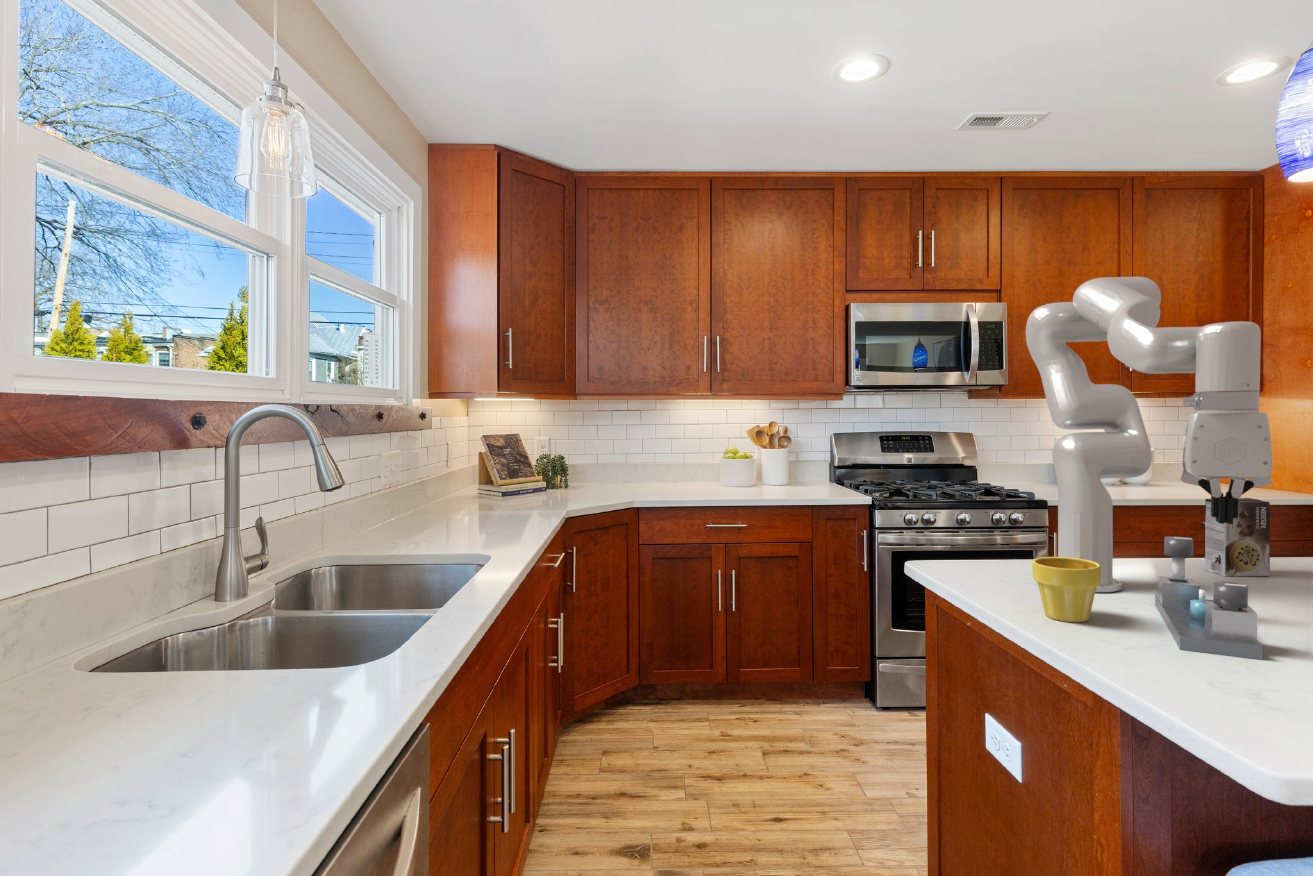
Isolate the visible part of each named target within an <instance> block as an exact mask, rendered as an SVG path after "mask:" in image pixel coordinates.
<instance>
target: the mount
mask: <svg viewBox="0 0 1313 876" xmlns="http://www.w3.org/2000/svg"><path fill="white" fill-rule="evenodd" d="M1200 589H1201V584H1199V583H1198V581H1197V580H1196V579H1195V578H1186V577H1185V579H1175V578H1172V576H1160V575H1158V576H1157V594H1154V599H1155V600H1154V602H1155V603H1154V606H1155V605H1156V606H1155V607H1157V608H1156V609H1157V611H1158V613H1159V612H1160V613H1159V615H1160V614H1161V615H1160V617H1161V619H1162V620H1163V622H1164V624H1165V623H1166V624H1165V625H1166V628H1167V629H1168V631H1169V632H1170V634H1171V636H1172V638H1173V640H1174V642H1175V643H1176V645H1177V647H1178V648H1179V650H1180V651H1187V652H1188V651H1190V652H1198V653H1205V654H1213V655H1220V656H1229V657H1237V658H1246V659H1251V660H1252V659H1253V660H1260V661H1263V651H1264V650H1263V648H1264V647H1263V645H1262V644H1261V643H1260V642H1259V641H1258V613H1257V612H1256V611H1255V610H1254V609H1253V608H1252V607H1250V605H1249V604H1248V607H1247V608H1238V610H1231V609H1223V606H1219V605H1216V604H1214V603H1213V599H1207V598H1205V620H1203V619H1197V618H1193V617H1191V616H1190V600H1199V590H1200Z"/></svg>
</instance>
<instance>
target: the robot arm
mask: <svg viewBox="0 0 1313 876" xmlns="http://www.w3.org/2000/svg"><path fill="white" fill-rule="evenodd" d="M1161 301H1162V293H1161V289H1160V287H1159V285H1157V283H1156V282H1155V281H1154V280H1152V279H1150V278H1148V277H1144V276H1116V277H1114V276H1113V277H1112V276H1108V277H1107V276H1106V277H1105V276H1104V277H1096V278H1092V279H1089V280H1086V281H1085V282H1083V283H1082V284H1080V286H1078V287H1077V288H1076V290H1075V291H1074V294H1073V297H1072V301H1061V302H1051V303H1045V304H1044V305H1041V306H1037V307H1036V308H1035V309H1033V311H1031V313H1030V315H1029V316H1028V318H1027V320H1026V321H1027V322H1026V326H1025V341H1026V346H1027V348H1028V349H1027V350H1028V352H1029V354H1030V357H1031V358H1032V360H1033V363H1034V364H1035V367H1036V368H1037V370H1038V373H1039V375H1040V377H1041V382H1042V383H1041V384H1042V386H1043V392H1044V394H1045V395H1044V396H1045V400H1046V404H1047V407H1048V411H1049V415H1050V416H1051V417H1050V418H1051V419H1052V422H1053V423H1054V425H1056V427H1058V428H1059V429H1063V430H1072V431H1073V430H1075V431H1076V430H1104V431H1089V432H1087V431H1086V432H1085V431H1084V432H1073V433H1068V434H1066V435H1063V436H1061V437H1060V438H1058V439H1057V440H1056V442H1055V443H1054V444H1053V448H1052V454H1051V455H1052V461H1053V466H1054V472H1055V478H1056V486H1057V557H1069V558H1078V559H1085V560H1089V561H1093V562H1096V563H1098V564H1099V565H1100V566H1101V583H1100V585H1099V586H1097V587H1096V591H1095V593H1113V592H1118V591H1121V590H1122V588H1123V583H1122V582H1121V581H1120V580H1119V579H1116V578H1113V575H1114V574H1113V570H1114V569H1113V565H1114V564H1113V563H1114V561H1113V559H1114V558H1113V557H1114V556H1113V552H1114V551H1113V549H1114V548H1113V542H1114V541H1113V538H1114V537H1113V536H1114V535H1113V534H1114V531H1113V530H1114V529H1113V528H1114V526H1113V521H1114V520H1113V515H1114V514H1113V513H1114V511H1113V509H1114V507H1113V506H1114V505H1113V499H1112V497H1111V494H1110V493H1109V491H1108V489H1107V488H1106V487H1105V485H1104V484H1103V482H1102V480H1105V479H1130V478H1132V479H1133V478H1138V477H1141V476H1143V475H1144V474H1146V473H1147V472H1148V471H1149V469H1150V467H1151V465H1152V459H1153V453H1152V448H1151V444H1150V441H1149V439H1150V438H1149V437H1148V433H1147V430H1146V426H1145V423H1144V420H1143V416H1142V413H1141V410H1140V406H1139V403H1138V401H1137V399H1136V396H1134V394H1133V392H1132V391H1131V390H1130V389H1128V388H1126V387H1125V386H1123V385H1120V384H1114V383H1112V384H1111V383H1102V384H1101V383H1100V384H1099V383H1098V384H1096V383H1093V382H1092V381H1091V379H1090V377H1089V375H1088V370H1087V367H1086V364H1085V361H1083V359H1082V358H1081V357H1080V356H1079V355H1078V353H1076V352H1075V351H1074V350H1073V349H1072V348H1070V347H1069V346H1068V345H1067V343H1082V342H1083V343H1086V342H1091V343H1092V342H1105V341H1107V345H1108V348H1109V351H1110V353H1111V355H1112V356H1113V357H1114V358H1115V359H1116V360H1117V361H1119V362H1121V363H1123V364H1124V365H1126V366H1127V367H1129V368H1131V369H1133V370H1134V371H1137V372H1139V373H1144V374H1150V375H1153V374H1155V375H1158V374H1195V378H1194V379H1195V380H1194V382H1195V385H1194V386H1195V392H1194V393H1193V395H1190V396H1184V397H1183V401H1182V403H1183V406H1189V407H1192V408H1193V409H1194V412H1190V413H1189V415H1188V420H1187V423H1186V428H1185V433H1184V442H1183V450H1182V452H1183V453H1182V469H1183V470H1182V474H1181V476H1180V481H1181V482H1182V483H1185V484H1189V485H1192V486H1193V485H1194V486H1198V487H1200V488H1202V489H1203V490H1204V491H1205V492H1206V493H1208V494H1209V495H1210V499H1211V516H1212V517H1215V520H1216V521H1217V522H1218V523H1220V524H1224V523H1225V522H1226V523H1228V524H1233V518H1238V498H1242V496H1243V495H1244V494H1245V493H1247V492H1248V491H1250V490H1251V489H1252V488H1261V487H1267V486H1270V485H1272V483H1273V480H1272V477H1271V475H1272V474H1273V447H1272V436H1271V427H1270V423H1269V422H1270V421H1269V419H1268V414H1267V412H1261V411H1260V389H1261V388H1260V387H1261V385H1260V384H1261V383H1260V382H1261V381H1260V380H1261V347H1262V346H1261V344H1262V343H1261V341H1262V339H1261V338H1262V337H1261V335H1262V334H1261V333H1262V332H1261V327H1260V326H1259V325H1258V324H1257V323H1255V322H1253V321H1241V320H1239V321H1225V322H1216V323H1209V324H1205V325H1203V326H1184V327H1183V326H1175V327H1173V326H1169V327H1167V326H1165V327H1163V326H1162V327H1157V325H1158V323H1159V322H1160V319H1161V318H1160V317H1161V308H1160V305H1161V303H1162V302H1161ZM1220 479H1229V482H1228V483H1229V484H1228V489H1227V491H1226V492H1225V495H1224V492H1222V487H1221V482H1220Z"/></svg>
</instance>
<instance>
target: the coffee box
mask: <svg viewBox="0 0 1313 876" xmlns="http://www.w3.org/2000/svg"><path fill="white" fill-rule="evenodd" d="M1204 500H1205V504H1204V506H1205V512H1204V513H1205V517H1204V519H1205V520H1204V521H1205V527H1204V528H1205V530H1204V531H1205V532H1204V533H1205V539H1204V540H1205V541H1204V543H1205V552H1204V553H1205V555H1204V557H1205V558H1204V559H1205V564H1204V565H1205V569H1208V570H1211V571H1213V572H1217V573H1219V574H1223V575H1225V576H1224V577H1270V576H1271V541H1270V540H1271V537H1270V536H1271V529H1270V528H1271V527H1270V524H1271V520H1270V519H1271V517H1270V514H1271V513H1270V511H1271V510H1270V509H1271V508H1270V505H1271V504H1270V503H1271V502H1270V501H1264V500H1260V499H1257V498H1250V497H1240V498H1238V518H1233V524H1228V523H1226V522H1225V523H1224V524H1220V523H1218V522H1217V521H1216V520H1215V517H1212V516H1211V498H1205V499H1204ZM1213 572H1212V573H1213ZM1219 574H1218V575H1219Z"/></svg>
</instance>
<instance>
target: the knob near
mask: <svg viewBox="0 0 1313 876" xmlns="http://www.w3.org/2000/svg"><path fill="white" fill-rule="evenodd" d="M1212 587H1213V588H1212V589H1213V593H1212V594H1213V596H1212V597H1213V598H1212V600H1213V603H1214V604H1216V605H1219V606H1223V609H1231V610H1238V608H1247V607H1248V605H1249V603H1248V601H1249V599H1248V598H1249V587H1248V585H1246V584H1242V583H1237V582H1229V581H1215V582H1213V586H1212Z"/></svg>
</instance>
